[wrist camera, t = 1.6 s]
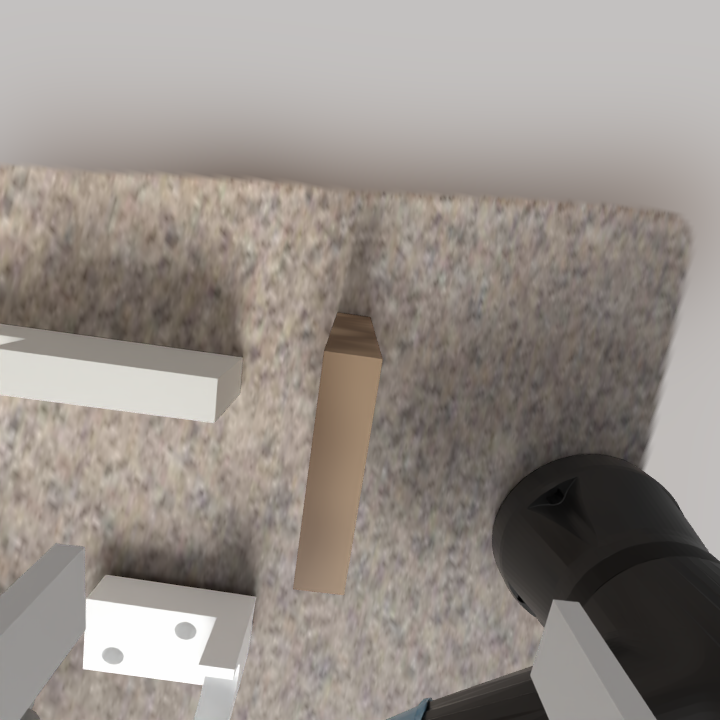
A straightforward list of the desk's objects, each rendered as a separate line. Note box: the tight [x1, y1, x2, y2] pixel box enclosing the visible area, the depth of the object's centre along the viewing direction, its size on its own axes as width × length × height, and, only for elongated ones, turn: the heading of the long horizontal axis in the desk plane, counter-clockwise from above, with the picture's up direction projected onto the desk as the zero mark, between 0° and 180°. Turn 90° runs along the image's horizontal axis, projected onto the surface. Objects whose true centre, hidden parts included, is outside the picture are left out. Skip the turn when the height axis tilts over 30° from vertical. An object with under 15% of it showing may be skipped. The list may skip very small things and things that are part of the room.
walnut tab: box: [293, 313, 383, 595], centre depth 25 cm, size 2×12×14 cm, turn 172°
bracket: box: [83, 575, 256, 720], centre depth 33 cm, size 13×7×8 cm, turn 79°
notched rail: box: [0, 324, 243, 423], centre depth 28 cm, size 24×3×6 cm, turn 82°
